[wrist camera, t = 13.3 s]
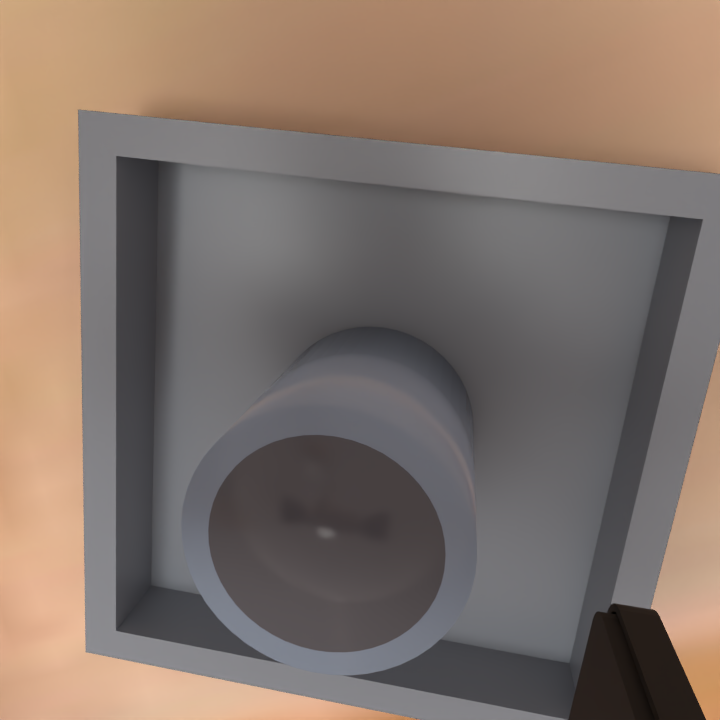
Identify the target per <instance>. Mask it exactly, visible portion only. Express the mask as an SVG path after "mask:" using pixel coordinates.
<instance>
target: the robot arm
mask: <svg viewBox="0 0 720 720" xmlns="http://www.w3.org/2000/svg"><path fill="white" fill-rule="evenodd" d="M568 720H706V718H705V716H704V714H703V712H702V710H701V707H700V705H699V703H698V701H697V698H696V696H695V694H694V692H693V690H692V687H691V685H690V683H689V681H688V679H687V676H686V674H685V672H684V670H683V667H682V665H681V663H680V661H679V659H678V656H677V654H676V652H675V650H674V647H673V645H672V643H671V641H670V639H669V636H668V634H667V632H666V630H665V627H664V625H663V623H662V621H661V619H660V616H659V615H658V613H657V612H656V611H655V610H652V609H646V608H640V607H634V606H628V605H622V604H616V603H613V604H611V605H610V607H609V608H608V611H607V613H605V612H599V611H598V612H596V613H595V615H594V617H593V621H592V625H591V629H590V633H589V637H588V641H587V645H586V649H585V653H584V658H583V662H582V666H581V670H580V674H579V678H578V682H577V686H576V690H575V694H574V699H573V703H572V707H571V711H570V715H569V719H568Z"/></svg>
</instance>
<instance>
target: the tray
mask: <svg viewBox="0 0 720 720" xmlns="http://www.w3.org/2000/svg"><path fill="white" fill-rule="evenodd" d="M78 126H79V199H80V272H81V345H82V417H83V490H84V563H85V636H86V652H88V653H93V654H98V655H103V656H108V657H113V658H118V659H123V660H128V661H133V662H138V663H143V664H148V665H152V666H157V667H162V668H167V669H172V670H177V671H182V672H187V673H192V674H197V675H202V676H207V677H212V678H217V679H222V680H227V681H232V682H237V683H242V684H247V685H252V686H257V687H262V688H267V689H272V690H277V691H281V692H286V693H291V694H296V695H301V696H306V697H311V698H316V699H321V700H326V701H331V702H336V703H341V704H346V705H351V706H356V707H361V708H366V709H371V710H376V711H381V712H386V713H391V714H396V715H401V716H406V717H410V718H415V719H420V720H568V719H569V715H570V711H571V707H572V703H573V699H574V694H575V690H576V686H577V682H578V678H579V674H580V670H581V666H582V662H583V658H584V653H585V649H586V645H587V641H588V637H589V633H590V629H591V625H592V621H593V617H594V615H595V613H596V612H598V611H599V612H605V613H607V611H608V608H609V607H610V605H611V604H613V603H616V604H622V605H628V606H634V607H640V608H646V609H650V608H651V604H652V600H653V597H654V593H655V589H656V585H657V581H658V577H659V573H660V570H661V566H662V562H663V558H664V554H665V550H666V546H667V543H668V539H669V535H670V531H671V527H672V523H673V519H674V516H675V512H676V508H677V504H678V500H679V496H680V492H681V489H682V485H683V481H684V477H685V473H686V469H687V465H688V462H689V458H690V454H691V450H692V446H693V442H694V438H695V435H696V431H697V427H698V423H699V419H700V415H701V411H702V408H703V404H704V400H705V396H706V392H707V388H708V384H709V381H710V377H711V373H712V369H713V365H714V361H715V357H716V354H717V350H718V346H719V342H720V174H715V173H705V172H695V171H685V170H675V169H665V168H655V167H645V166H635V165H625V164H615V163H605V162H595V161H585V160H576V159H566V158H556V157H546V156H536V155H526V154H516V153H506V152H496V151H486V150H476V149H466V148H456V147H446V146H436V145H426V144H416V143H406V142H396V141H386V140H376V139H366V138H356V137H346V136H336V135H326V134H316V133H306V132H296V131H286V130H276V129H266V128H256V127H246V126H236V125H226V124H216V123H207V122H197V121H187V120H177V119H167V118H157V117H147V116H137V115H127V114H117V113H107V112H97V111H87V110H78ZM356 327H383V328H388V329H393V330H398V331H400V332H403V333H406V334H409V335H412V336H414V337H416V338H418V339H420V340H422V341H423V342H425V343H426V344H428V345H429V346H431V347H433V348H434V349H435V350H436V351H437V352H439V353H440V354H441V355H442V356H443V357H444V358H445V359H446V360H447V361H448V362H449V363H450V364H451V366H452V367H453V368H454V370H455V371H456V372H457V374H458V375H459V377H460V378H461V380H462V382H463V384H464V386H465V388H466V391H467V393H468V396H469V399H470V402H471V407H472V412H473V425H474V460H475V498H476V535H477V563H476V573H475V578H474V582H473V586H472V590H471V593H470V595H469V598H468V600H467V603H466V605H465V607H464V609H463V611H462V612H461V614H460V616H459V617H458V619H457V621H456V622H455V623H454V625H453V626H452V627H451V628H450V629H449V631H448V632H447V633H446V634H445V635H444V636H443V637H442V638H441V639H440V640H439V641H438V642H437V643H435V644H434V645H433V646H432V647H431V648H429V649H428V650H426V651H425V652H423V653H422V654H420V655H419V656H417V657H416V658H413V659H411V660H409V661H407V662H405V663H403V664H401V665H398V666H395V667H392V668H389V669H386V670H383V671H378V672H373V673H368V674H359V675H328V674H322V673H315V672H310V671H306V670H302V669H298V668H294V667H291V666H289V665H286V664H284V663H281V662H278V661H276V660H274V659H272V658H270V657H268V656H266V655H264V654H262V653H260V652H259V651H257V650H255V649H254V648H252V647H251V646H249V645H248V644H246V643H245V642H243V641H242V640H241V639H240V638H238V637H237V636H236V635H235V634H234V633H232V632H231V631H230V630H229V629H228V628H227V627H226V626H225V625H224V624H223V623H222V622H221V621H220V620H219V619H218V618H217V616H216V615H215V614H214V613H213V611H212V610H211V609H210V608H209V606H208V605H207V604H206V602H205V600H204V599H203V597H202V596H201V594H200V592H199V591H198V589H197V587H196V585H195V583H194V580H193V578H192V576H191V574H190V571H189V568H188V565H187V562H186V558H185V554H184V549H183V543H182V530H181V519H182V509H183V503H184V499H185V495H186V491H187V488H188V485H189V483H190V481H191V478H192V476H193V473H194V472H195V470H196V468H197V467H198V465H199V463H200V462H201V460H202V458H203V457H204V456H205V455H206V454H207V452H208V451H209V450H210V449H211V448H212V446H213V445H214V444H215V443H216V442H217V441H218V440H219V439H220V438H221V437H222V436H223V435H224V434H225V433H226V432H227V431H228V429H229V428H230V427H231V426H232V425H233V424H234V423H235V422H236V421H237V420H238V419H239V418H240V417H241V416H242V415H243V414H244V413H245V412H246V411H247V410H248V409H249V408H250V407H251V406H252V404H253V403H254V402H255V401H256V400H257V399H258V398H259V397H260V396H261V395H262V394H263V393H264V392H265V391H266V390H267V389H268V388H269V387H270V386H271V385H272V384H273V383H274V382H275V381H276V379H277V378H278V377H279V376H280V375H281V374H282V373H283V372H284V371H285V370H286V369H287V368H288V367H289V366H290V365H291V364H292V363H293V362H294V361H295V360H296V359H297V358H298V357H299V356H300V355H301V354H302V353H303V352H304V351H305V350H306V349H307V348H308V347H310V346H311V345H313V344H314V343H316V342H317V341H318V340H320V339H322V338H324V337H326V336H328V335H330V334H333V333H336V332H339V331H342V330H346V329H351V328H356Z"/></svg>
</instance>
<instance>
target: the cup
mask: <svg viewBox="0 0 720 720" xmlns="http://www.w3.org/2000/svg"><path fill="white" fill-rule="evenodd" d="M181 530H182V543H183V549H184V554H185V558H186V562H187V565H188V568H189V571H190V574H191V576H192V578H193V580H194V583H195V585H196V587H197V589H198V591H199V592H200V594H201V596H202V597H203V599H204V600H205V602H206V604H207V605H208V606H209V608H210V609H211V610H212V611H213V613H214V614H215V615H216V616H217V618H218V619H219V620H220V621H221V622H222V623H223V624H224V625H225V626H226V627H227V628H228V629H229V630H230V631H231V632H232V633H234V634H235V635H236V636H237V637H238V638H240V639H241V640H242V641H243V642H245V643H246V644H248V645H249V646H251V647H252V648H254V649H255V650H257V651H259V652H260V653H262V654H264V655H266V656H268V657H270V658H272V659H274V660H276V661H278V662H281V663H284V664H286V665H289V666H291V667H294V668H298V669H302V670H306V671H310V672H315V673H322V674H328V675H359V674H368V673H373V672H378V671H383V670H386V669H389V668H392V667H395V666H398V665H401V664H403V663H405V662H407V661H409V660H411V659H413V658H416V657H417V656H419V655H420V654H422V653H423V652H425V651H426V650H428V649H429V648H431V647H432V646H433V645H434V644H435V643H437V642H438V641H439V640H440V639H441V638H442V637H443V636H444V635H445V634H446V633H447V632H448V631H449V629H450V628H451V627H452V626H453V625H454V623H455V622H456V621H457V619H458V617H459V616H460V614H461V612H462V611H463V609H464V607H465V605H466V603H467V600H468V598H469V595H470V593H471V590H472V586H473V582H474V578H475V573H476V563H477V535H476V498H475V460H474V425H473V412H472V407H471V402H470V399H469V396H468V393H467V391H466V388H465V386H464V384H463V382H462V380H461V378H460V377H459V375H458V374H457V372H456V371H455V370H454V368H453V367H452V366H451V364H450V363H449V362H448V361H447V360H446V359H445V358H444V357H443V356H442V355H441V354H440V353H439V352H437V351H436V350H435V349H434V348H433V347H431V346H429V345H428V344H426V343H425V342H423V341H422V340H420V339H418V338H416V337H414V336H412V335H409V334H406V333H403V332H400V331H398V330H393V329H388V328H383V327H356V328H351V329H346V330H342V331H339V332H336V333H333V334H330V335H328V336H326V337H324V338H322V339H320V340H318V341H317V342H316V343H314V344H313V345H311V346H310V347H308V348H307V349H306V350H305V351H304V352H303V353H302V354H301V355H300V356H299V357H298V358H297V359H296V360H295V361H294V362H293V363H292V364H291V365H290V366H289V367H288V368H287V369H286V370H285V371H284V372H283V373H282V374H281V375H280V376H279V377H278V378H277V379H276V381H275V382H274V383H273V384H272V385H271V386H270V387H269V388H268V389H267V390H266V391H265V392H264V393H263V394H262V395H261V396H260V397H259V398H258V399H257V400H256V401H255V402H254V403H253V404H252V406H251V407H250V408H249V409H248V410H247V411H246V412H245V413H244V414H243V415H242V416H241V417H240V418H239V419H238V420H237V421H236V422H235V423H234V424H233V425H232V426H231V427H230V428H229V429H228V431H227V432H226V433H225V434H224V435H223V436H222V437H221V438H220V439H219V440H218V441H217V442H216V443H215V444H214V445H213V446H212V448H211V449H210V450H209V451H208V452H207V454H206V455H205V456H204V457H203V458H202V460H201V462H200V463H199V465H198V467H197V468H196V470H195V472H194V473H193V476H192V478H191V481H190V483H189V485H188V488H187V491H186V495H185V499H184V503H183V509H182V519H181Z"/></svg>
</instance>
